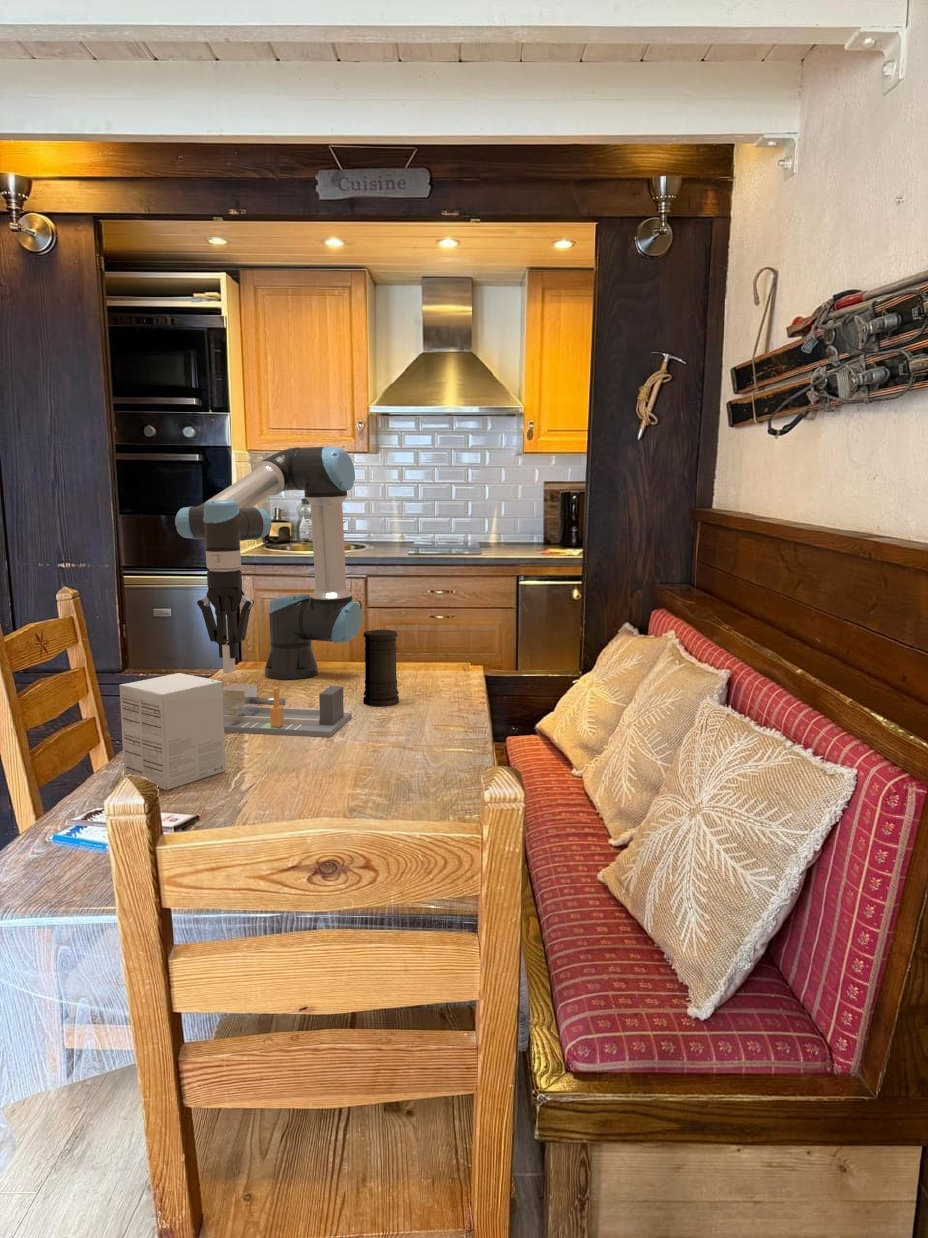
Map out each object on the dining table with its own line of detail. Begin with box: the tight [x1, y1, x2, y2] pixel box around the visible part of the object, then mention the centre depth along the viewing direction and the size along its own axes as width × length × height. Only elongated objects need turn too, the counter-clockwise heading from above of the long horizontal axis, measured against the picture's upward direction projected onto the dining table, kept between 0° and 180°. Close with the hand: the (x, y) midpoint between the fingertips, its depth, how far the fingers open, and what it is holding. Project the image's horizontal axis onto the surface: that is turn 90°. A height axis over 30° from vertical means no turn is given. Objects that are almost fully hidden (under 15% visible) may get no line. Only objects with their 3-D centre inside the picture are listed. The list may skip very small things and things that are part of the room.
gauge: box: [222, 683, 287, 716], centre depth 189 cm, size 12×14×6 cm
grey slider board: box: [223, 685, 353, 738], centre depth 189 cm, size 16×32×8 cm, turn 81°
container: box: [362, 629, 400, 707], centre depth 209 cm, size 9×9×18 cm
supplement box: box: [118, 672, 227, 791], centre depth 154 cm, size 13×13×18 cm
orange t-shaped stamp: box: [270, 686, 284, 727], centre depth 183 cm, size 2×2×8 cm
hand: (229, 671), depth 192 cm, fingers closed
